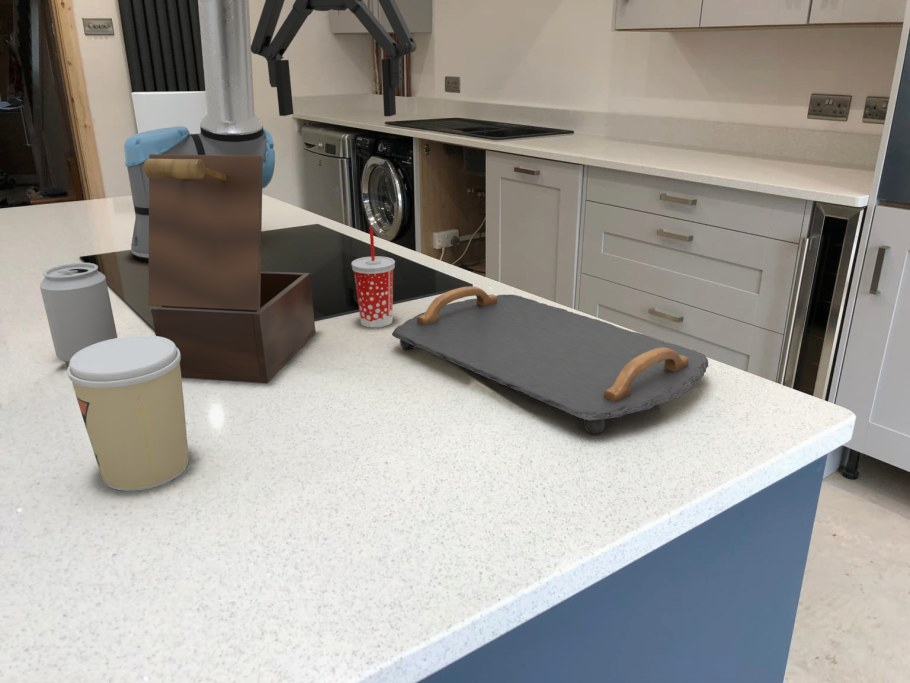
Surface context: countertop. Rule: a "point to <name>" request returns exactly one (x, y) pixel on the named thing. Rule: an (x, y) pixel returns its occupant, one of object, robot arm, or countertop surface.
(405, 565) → the countertop surface
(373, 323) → the beverage cup
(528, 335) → the serving tray
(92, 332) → the can
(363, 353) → the countertop surface
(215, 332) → the chest
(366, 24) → the robot arm
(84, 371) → the coffee cup
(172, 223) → the lid
